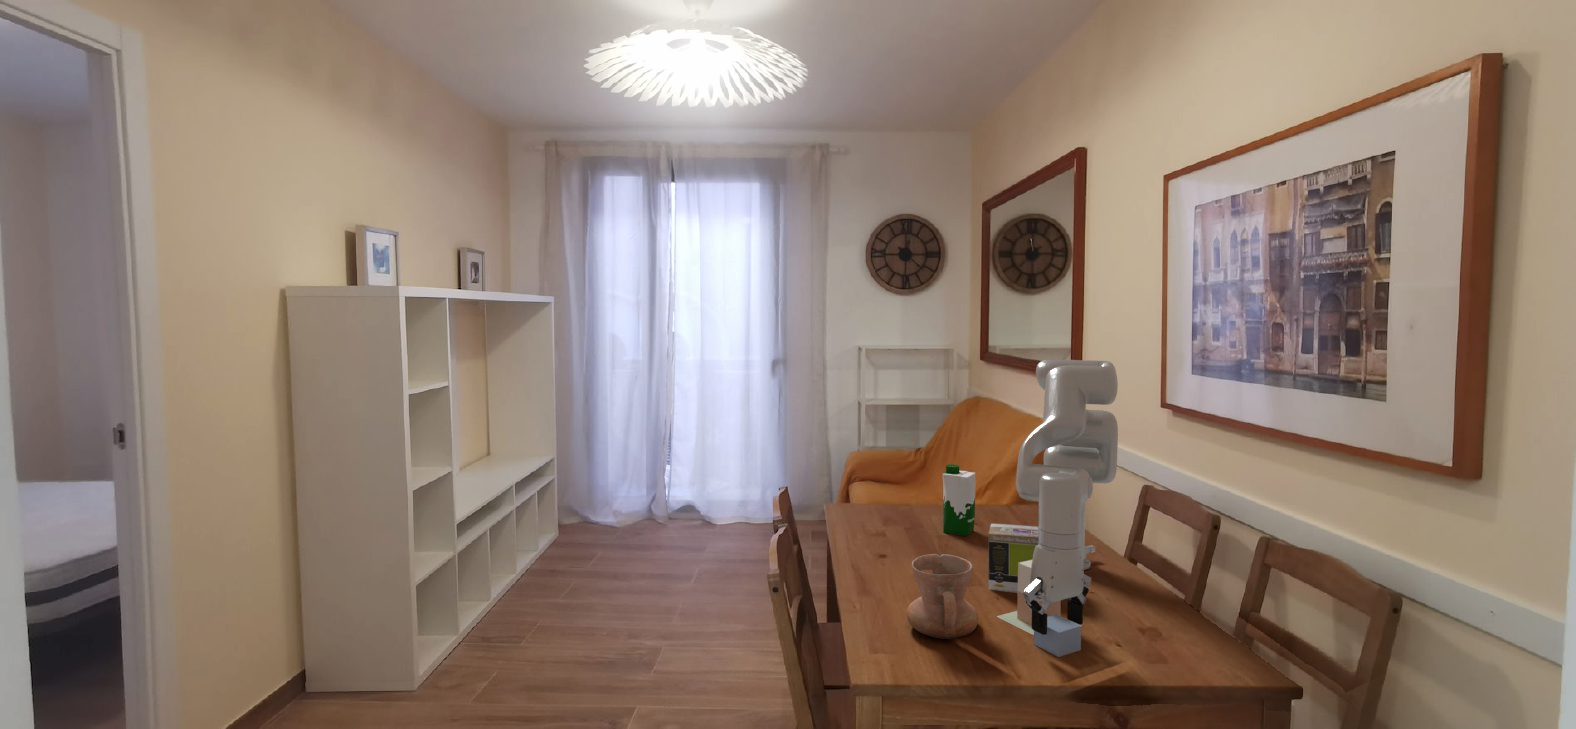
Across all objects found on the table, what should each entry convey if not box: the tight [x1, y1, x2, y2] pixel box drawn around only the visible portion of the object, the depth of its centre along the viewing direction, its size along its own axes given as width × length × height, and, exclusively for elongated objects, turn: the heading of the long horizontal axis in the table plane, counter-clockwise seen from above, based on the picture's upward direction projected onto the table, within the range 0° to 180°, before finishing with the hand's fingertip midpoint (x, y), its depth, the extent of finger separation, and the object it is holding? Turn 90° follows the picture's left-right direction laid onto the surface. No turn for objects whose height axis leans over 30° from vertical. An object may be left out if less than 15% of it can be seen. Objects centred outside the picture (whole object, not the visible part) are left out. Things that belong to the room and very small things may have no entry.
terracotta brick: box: [1016, 591, 1062, 626], centre depth 147 cm, size 6×6×6 cm
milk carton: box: [942, 464, 976, 537], centre depth 213 cm, size 9×9×20 cm
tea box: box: [987, 522, 1038, 594], centre depth 167 cm, size 15×10×15 cm
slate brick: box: [1033, 615, 1082, 658], centre depth 135 cm, size 6×6×6 cm
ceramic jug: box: [906, 553, 979, 640], centre depth 145 cm, size 18×14×14 cm
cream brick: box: [1018, 560, 1046, 601], centre depth 147 cm, size 6×6×6 cm
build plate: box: [995, 610, 1083, 636], centre depth 147 cm, size 12×12×1 cm
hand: (1057, 626), depth 135 cm, fingers open, 9 cm apart
